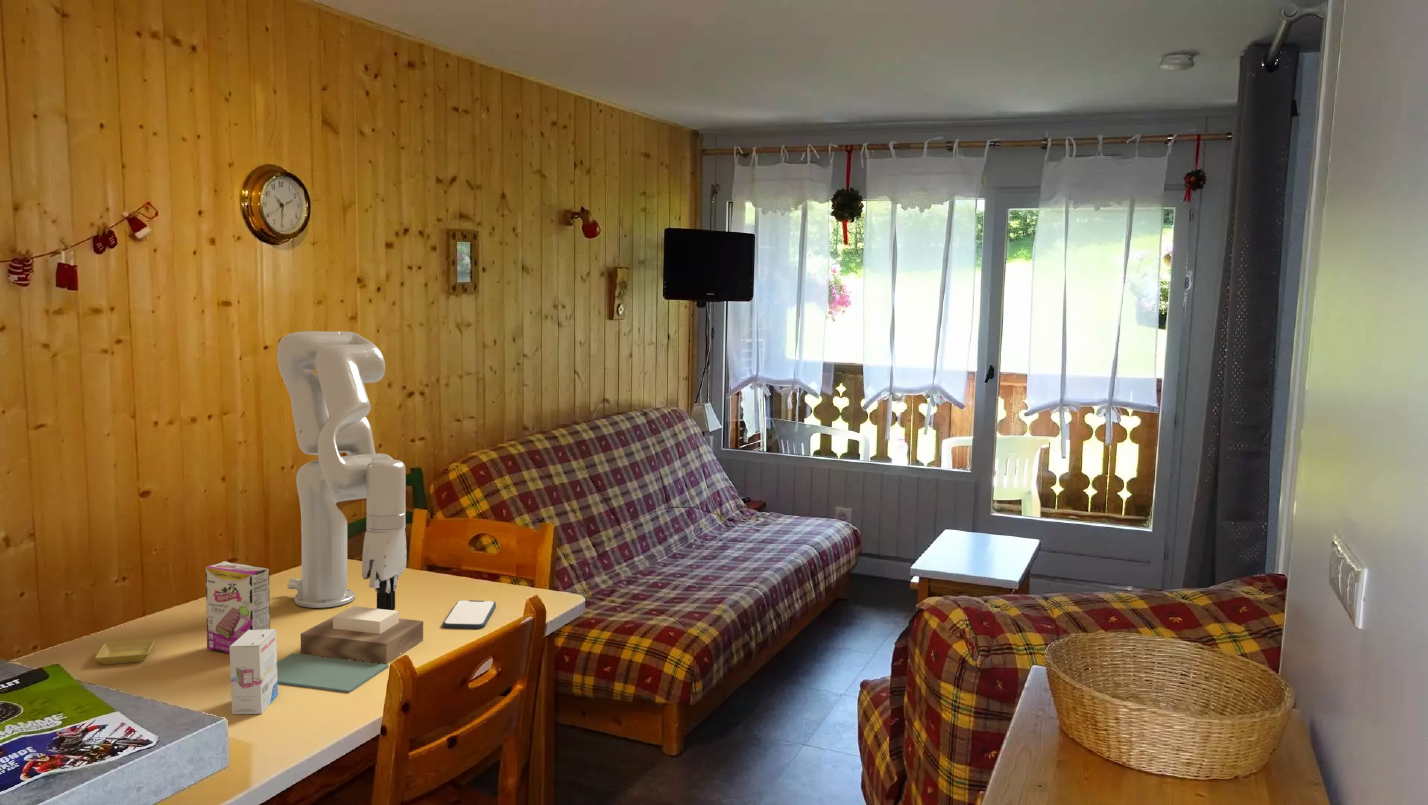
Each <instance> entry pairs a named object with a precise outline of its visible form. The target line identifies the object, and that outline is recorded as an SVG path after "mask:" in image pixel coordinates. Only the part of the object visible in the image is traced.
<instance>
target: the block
mask: <svg viewBox="0 0 1428 805" xmlns="http://www.w3.org/2000/svg"><path fill="white" fill-rule="evenodd" d="M423 641H424V620H418V619H408V618H401V617H399V623H397V624H396V625H394V626H392V627H391V628H389V629H387V630H386V631H384V632H382V633H381V634H377V633H368V632H359V631H351V630H342V629H333V616H332V617H329V618H328V619H326V620H323V621H321V622H320V623H318V624H316V625H315V626H312V627H311V628H308V629H307V630H304V631H303V632H301V633H300V654H304V655H313V656H321V657H322V656H323V657H329V658H330V657H331V658H337V659H345V660H346V659H351V660H353V661H354V660H356V661H364V662H370V663H371V662H377V663H378V664H379V663H383V664H386V665H388V664H389V663H391V662H393V661H394V660H395V659H397V658H398V656H399V657H400V656H402V655H403V654H405V653H406V652H408V651H409V650H411V649H412V648H414V647H416V646H417V645H418V644H420V643H421V642H423ZM400 653H401V654H400ZM393 659H394V660H393ZM389 661H390V662H389ZM388 662H389V663H388ZM387 663H388V664H387Z"/></svg>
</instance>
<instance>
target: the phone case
mask: <svg viewBox="0 0 1428 805" xmlns="http://www.w3.org/2000/svg"><path fill="white" fill-rule="evenodd" d="M496 608H497V602H496V601H493V600H470V599H469V600H467V599H465V600H463V599H461V600H457V601H456V602H455V604H454V605H453V608H452V609H450V612H449V613H448V615H447V616H446V618H445V619H444V621H443V622H442V629H443V628H444V629H452V630H453V629H459V630H460V629H462V630H482V629H484V628H485V627H486V625H487V624H488V622H489V621H490V618H491V617H492V615H493V614H494V611H495V610H494V609H496Z"/></svg>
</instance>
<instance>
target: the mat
mask: <svg viewBox="0 0 1428 805" xmlns="http://www.w3.org/2000/svg"><path fill="white" fill-rule="evenodd" d="M388 668H389V664H379V663H371V662H362V661H354V660H346V659H338V658H330V657H322V656H314V655H305V654H301V653H296V652H292V653H291V654H289V655H287V656H285V657H282V658H281V659H279V660H277V683H278V684H279V685H286V686H287V685H288V686H293V687H294V686H296V687H303V688H309V689H310V688H311V689H317V690H318V689H319V690H324V691H325V690H326V691H333V692H341V693H348V694H349V693H352V692H354V690H356V689H357V688H359V687H360V686H362V685H363V684H365V683H366V682H368V681H369V680H371V679H372V678H374V677H376V676H377V675H379V674H380V673H381V672H383V671H385V670H386V669H388Z"/></svg>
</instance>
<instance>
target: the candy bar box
mask: <svg viewBox="0 0 1428 805" xmlns="http://www.w3.org/2000/svg"><path fill="white" fill-rule="evenodd" d="M205 589H206V590H205V596H206V598H205V599H206V601H205V603H206V649H207V650H211V651H215V652H219V653H225V654H230V650H229V647H230V646H231V645H232V644H233V643H234V642H235V641H236V640H238V639H239V638H240V637H241V636H242V635H243V634H244V633H245V632H247V631H248V630H263V629H271V622H270V618H271V616H270V609H271V608H270V607H271V606H270V568H267V567H260V566H252V565H248V564H243V563H236V562H232V561H231V562H230V561H220V562H217V563H214V564H211V565H208V566H206V567H205Z"/></svg>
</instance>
